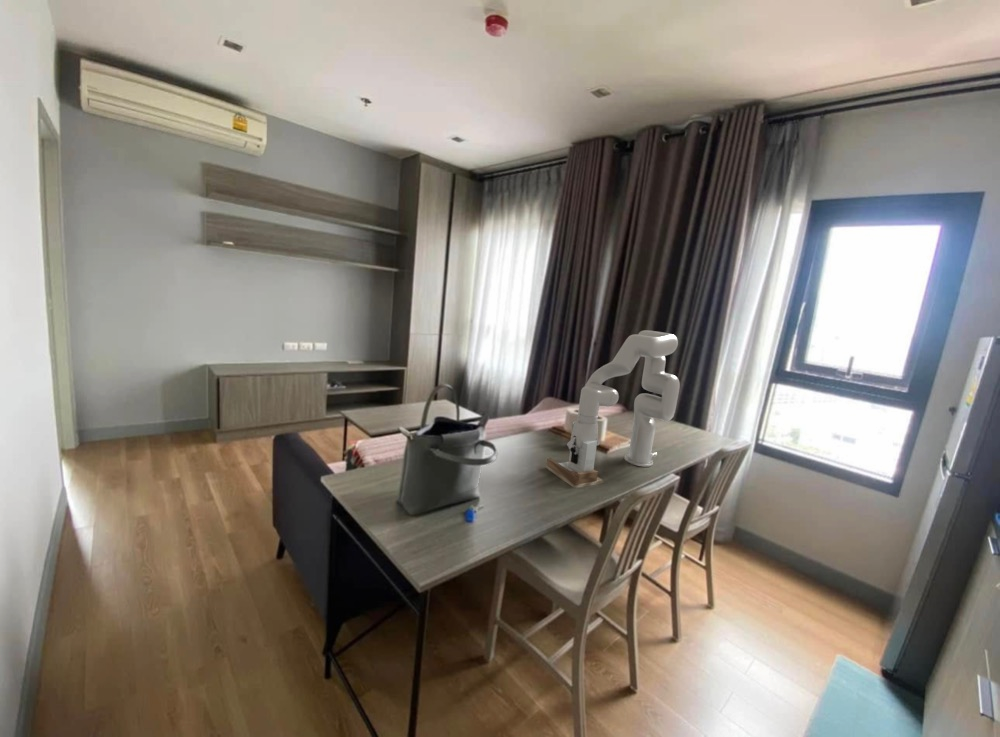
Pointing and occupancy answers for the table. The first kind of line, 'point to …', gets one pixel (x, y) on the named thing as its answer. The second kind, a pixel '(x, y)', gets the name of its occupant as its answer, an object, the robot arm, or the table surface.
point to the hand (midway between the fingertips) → (581, 461)
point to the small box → (584, 457)
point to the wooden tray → (573, 474)
